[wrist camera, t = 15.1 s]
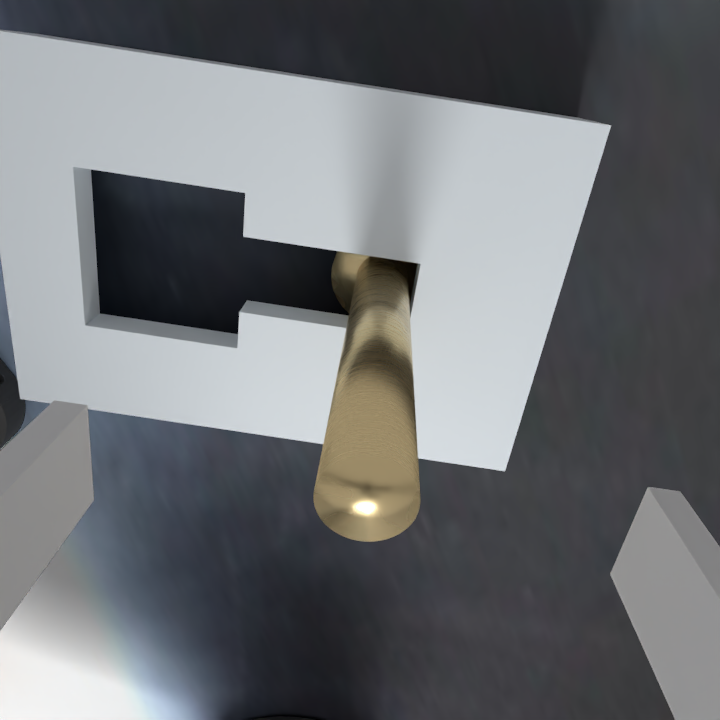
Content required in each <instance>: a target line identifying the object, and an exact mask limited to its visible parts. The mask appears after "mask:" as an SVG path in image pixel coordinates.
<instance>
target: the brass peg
mask: <svg viewBox="0 0 720 720" xmlns="http://www.w3.org/2000/svg"><path fill="white" fill-rule="evenodd" d="M417 264H418V263H413V262H406V261H399V260H393V259H386V258H380V257H373V256H367V255H360V254H353V253H347V252H340V251H337V253H336V256H335V259H334V262H333V266H332V271H331V281H332V287H333V291H334V293H335V296H336V298H337V300H338V302H339V303H340V304H341V306H342V307H343V308H344V309H345V310H346V311H347V312H348V313H349V317H348V322H347V327H346V332H345V337H344V342H343V347H342V352H341V357H340V362H339V367H338V372H337V377H336V382H335V388H334V393H333V398H332V403H331V408H330V413H329V418H328V423H327V428H326V433H325V438H324V443H323V448H322V453H321V458H320V464H319V469H318V474H317V479H316V484H315V489H314V497H313V499H314V505H315V509H316V511H317V514H318V515H319V517H320V519H321V520H322V521H323V522H324V523H325V525H327V526H328V527H329V528H330V529H331V530H333V531H334V532H336V533H338V534H339V535H341V536H344V537H346V538H349V539H353V540H358V541H381V540H385V539H389V538H392V537H394V536H396V535H398V534H400V533H401V532H403V531H404V530H406V529H407V528H408V527H409V526H410V525H411V524H412V523H413V521H414V520H415V518H416V516H417V514H418V511H419V508H420V485H419V467H418V450H417V432H416V414H415V396H414V379H413V361H412V343H411V325H410V308H409V307H410V302H411V296H412V291H413V286H414V280H415V275H416V270H417Z"/></svg>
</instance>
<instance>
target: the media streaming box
mask: <svg viewBox="0 0 720 720" xmlns="http://www.w3.org/2000/svg"><path fill="white" fill-rule="evenodd" d="M24 416H25V400H24V399H20V395H19V387H18V381H17V379H16V378H15V376H14V375H13V374H12V372H11V371H10V370H9V369H8V367H7V366H6V365H5V364H4V363H3V361H2V360H1V359H0V448H1V447H2V446H3V445H4V444H5V443H6V442H8V441H9V440H10V439H11V438H12V437H13V436H14V435H15V434H16V433H17V432H18V430H19V429H20V427H21V425H22V423H23V420H24Z"/></svg>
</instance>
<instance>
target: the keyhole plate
mask: <svg viewBox="0 0 720 720" xmlns="http://www.w3.org/2000/svg"><path fill="white" fill-rule="evenodd" d="M610 127H611V125H607V124H603V123H598V122H594V121H590V120H586V119H582V118H577V117H571V116H564V115H558V114H551V113H545V112H539V111H532V110H526V109H519V108H513V107H506V106H500V105H493V104H487V103H480V102H474V101H468V100H461V99H455V98H448V97H442V96H435V95H429V94H422V93H416V92H410V91H403V90H397V89H390V88H384V87H377V86H371V85H364V84H358V83H351V82H345V81H339V80H332V79H326V78H319V77H313V76H306V75H300V74H293V73H287V72H280V71H274V70H268V69H261V68H255V67H248V66H242V65H235V64H229V63H222V62H216V61H210V60H203V59H197V58H190V57H184V56H177V55H171V54H164V53H158V52H151V51H145V50H139V49H132V48H126V47H119V46H113V45H106V44H100V43H93V42H87V41H80V40H74V39H68V38H61V37H55V36H48V35H42V34H35V33H26V32H17V31H9V30H0V256H1V263H2V271H3V278H4V285H5V293H6V300H7V307H8V314H9V322H10V329H11V336H12V344H13V351H14V358H15V366H16V373H17V380H18V387H19V395H20V399H24V400H30V401H37V402H44V403H50V404H51V403H52V402H53V401H54V400H56V401H62V402H69V403H76V404H83V405H88V409H91V410H98V411H104V412H111V413H118V414H124V415H131V416H138V417H145V418H151V419H158V420H165V421H171V422H178V423H185V424H192V425H198V426H205V427H212V428H218V429H225V430H232V431H239V432H245V433H252V434H259V435H266V436H272V437H279V438H286V439H292V440H299V441H306V442H313V443H319V444H323V443H324V438H325V433H326V428H327V423H328V418H329V413H330V408H331V403H332V398H333V393H334V388H335V382H336V377H337V372H338V367H339V362H340V357H341V352H342V347H343V342H344V337H345V332H346V327H347V322H348V317H349V316H348V315H341V314H335V313H328V312H321V311H315V310H308V309H302V308H295V307H288V306H282V305H275V304H268V303H262V302H255V301H249V300H247V301H246V303H245V304H244V306H243V307H242V309H241V310H240V312H239V327H238V334H233V333H227V332H220V331H213V330H207V329H200V328H193V327H187V326H180V325H173V324H167V323H160V322H153V321H147V320H140V319H133V318H127V317H120V316H114V315H107V314H100V306H99V290H98V274H97V258H96V242H95V226H94V210H93V194H92V178H91V170H98V171H105V172H111V173H118V174H124V175H131V176H137V177H144V178H150V179H157V180H163V181H170V182H177V183H183V184H190V185H196V186H203V187H209V188H216V189H222V190H229V191H235V192H242V193H245V209H244V229H243V237H248V238H255V239H261V240H268V241H275V242H281V243H288V244H294V245H301V246H307V247H314V248H321V249H327V250H334V251H340V252H347V253H353V254H360V255H367V256H373V257H380V258H386V259H393V260H399V261H406V262H413V263H418V264H417V270H416V275H415V280H414V286H413V291H412V296H411V302H410V307H409V308H410V325H411V343H412V361H413V379H414V396H415V414H416V432H417V450H418V458H420V459H427V460H433V461H440V462H447V463H454V464H460V465H467V466H474V467H481V468H487V469H494V470H501V471H505V470H506V466H507V463H508V460H509V457H510V453H511V450H512V447H513V443H514V440H515V437H516V434H517V430H518V427H519V424H520V421H521V417H522V414H523V411H524V408H525V404H526V401H527V398H528V395H529V391H530V388H531V385H532V382H533V378H534V375H535V372H536V369H537V365H538V362H539V359H540V355H541V352H542V349H543V346H544V342H545V339H546V336H547V333H548V329H549V326H550V323H551V320H552V316H553V313H554V310H555V307H556V303H557V300H558V297H559V294H560V290H561V287H562V284H563V281H564V277H565V274H566V271H567V267H568V264H569V261H570V258H571V254H572V251H573V248H574V245H575V241H576V238H577V235H578V232H579V228H580V225H581V222H582V219H583V215H584V212H585V209H586V206H587V202H588V199H589V196H590V193H591V189H592V186H593V183H594V179H595V176H596V173H597V170H598V166H599V163H600V160H601V157H602V153H603V150H604V147H605V144H606V140H607V137H608V134H609V131H610Z"/></svg>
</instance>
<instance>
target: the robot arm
mask: <svg viewBox="0 0 720 720" xmlns="http://www.w3.org/2000/svg"><path fill="white" fill-rule="evenodd" d="M93 501H94V492H93V477H92V463H91V448H90V434H89V419H88V405H83V404H76V403H69V402H62V401H56V400H54V401H53V402H52V403H51V404H50V405H49V406H48V407H47V408H46V409H44V410H43V411H42V412H41V413H40V414H39V415H38V416H37V417H36V418H35V419H34V420H33V421H32V422H31V423H29V424H28V425H27V426H26V427H25V428H24V429H23V430H22V431H21V432H20V433H19V434H18V435H17V436H16V437H14V438H13V439H12V440H11V441H10V442H9V443H8V444H7V445H6V446H5V447H4V448H3V449H2V450H0V630H1V629H2V628H3V626H4V625H5V623H6V622H7V621H8V619H9V618H10V616H11V615H12V614H13V612H14V611H15V609H16V608H17V607H18V605H19V604H20V603H21V601H22V600H23V598H24V597H25V596H26V594H27V593H28V591H29V590H30V589H31V587H32V586H33V584H34V583H35V582H36V580H37V579H38V577H39V576H40V575H41V573H42V572H43V571H44V569H45V568H46V566H47V565H48V564H49V562H50V561H51V559H52V558H53V557H54V555H55V554H56V552H57V551H58V550H59V548H60V547H61V545H62V544H63V543H64V541H65V540H66V539H67V537H68V536H69V534H70V533H71V532H72V530H73V529H74V527H75V526H76V525H77V523H78V522H79V520H80V519H81V518H82V516H83V515H84V513H85V512H86V511H87V509H88V508H89V507H90V505H91V504H92V502H93ZM610 575H611V577H612V579H613V582H614V584H615V586H616V588H617V591H618V593H619V595H620V597H621V600H622V602H623V604H624V606H625V609H626V611H627V613H628V615H629V617H630V620H631V622H632V624H633V626H634V629H635V631H636V633H637V635H638V638H639V640H640V642H641V644H642V647H643V649H644V651H645V653H646V656H647V658H648V660H649V662H650V664H651V667H652V669H653V671H654V673H655V676H656V678H657V680H658V682H659V685H660V687H661V689H662V691H663V694H664V696H665V698H666V700H667V702H668V705H669V707H670V709H671V711H672V714H673V716H674V718H675V720H720V547H719V545H718V544H717V543H716V541H715V540H714V538H713V537H712V536H711V534H710V533H709V531H708V530H707V529H706V527H705V526H704V524H703V523H702V522H701V520H700V519H699V517H698V516H697V514H696V513H695V512H694V510H693V509H692V507H691V506H690V505H689V503H688V502H687V500H686V499H685V498H684V496H683V495H682V493H681V492H680V491H673V490H666V489H659V488H652V487H648V488H647V490H646V493H645V495H644V497H643V500H642V502H641V504H640V507H639V509H638V511H637V513H636V516H635V518H634V520H633V523H632V525H631V527H630V530H629V532H628V534H627V537H626V539H625V541H624V543H623V546H622V548H621V550H620V553H619V555H618V557H617V560H616V562H615V564H614V567H613V569H612V571H611V573H610ZM255 720H314V719H309V718H301V717H288V716H280V717H266V718H260V719H255Z"/></svg>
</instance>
